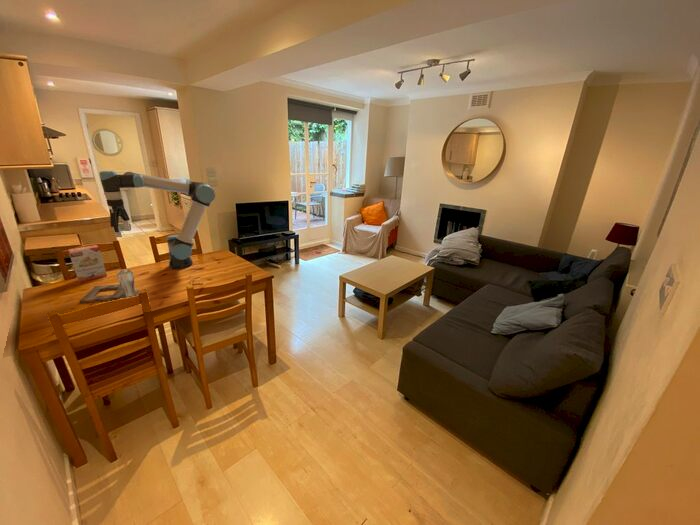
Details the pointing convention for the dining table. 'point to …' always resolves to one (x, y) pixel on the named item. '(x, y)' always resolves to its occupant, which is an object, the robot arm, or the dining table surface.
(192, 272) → the dining table surface
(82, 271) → the cracker box
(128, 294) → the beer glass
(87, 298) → the pocket frame
